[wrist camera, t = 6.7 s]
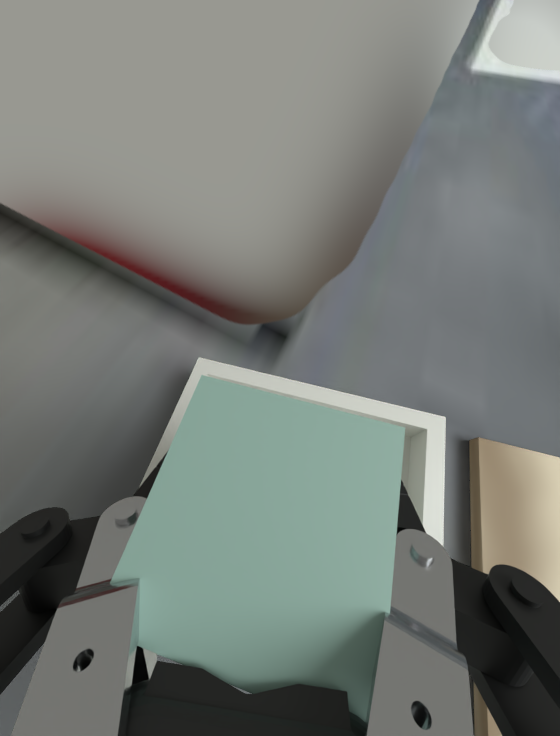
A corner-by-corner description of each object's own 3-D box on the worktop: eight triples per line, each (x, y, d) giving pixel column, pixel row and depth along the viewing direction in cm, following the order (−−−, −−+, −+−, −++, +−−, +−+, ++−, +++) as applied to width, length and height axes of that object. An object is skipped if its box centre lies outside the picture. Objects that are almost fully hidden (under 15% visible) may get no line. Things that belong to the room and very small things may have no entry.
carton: (218, 540, 14) (90, 626, 5) (250, 441, 16) (203, 369, 7) (314, 573, 13) (378, 745, 4) (334, 465, 15) (406, 421, 6)
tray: (118, 591, 15) (81, 611, 13) (210, 375, 21) (198, 357, 18) (408, 708, 13) (438, 764, 10) (423, 428, 19) (445, 417, 16)
